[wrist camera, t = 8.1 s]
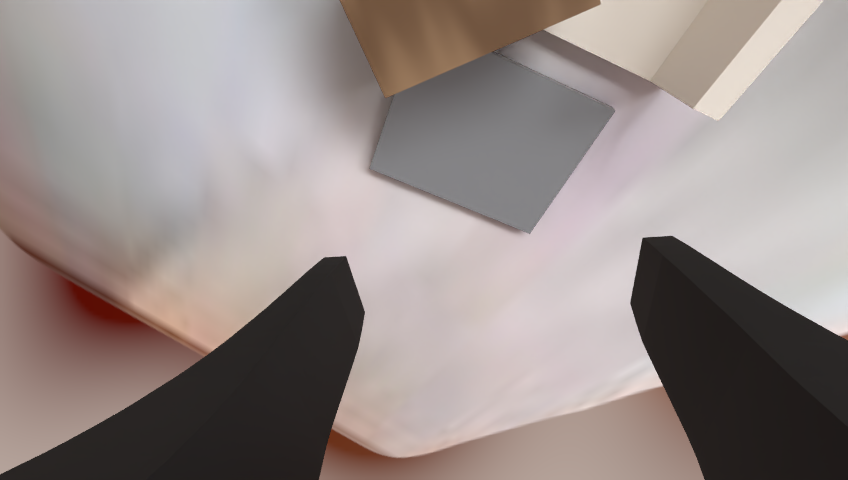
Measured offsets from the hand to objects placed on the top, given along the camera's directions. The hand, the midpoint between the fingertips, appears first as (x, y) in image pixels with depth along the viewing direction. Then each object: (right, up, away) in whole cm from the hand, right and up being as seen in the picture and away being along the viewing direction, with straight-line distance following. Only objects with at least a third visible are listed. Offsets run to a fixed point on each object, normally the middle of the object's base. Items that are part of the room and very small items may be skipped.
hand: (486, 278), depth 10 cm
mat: (+1, +6, +8) cm, 10 cm away
